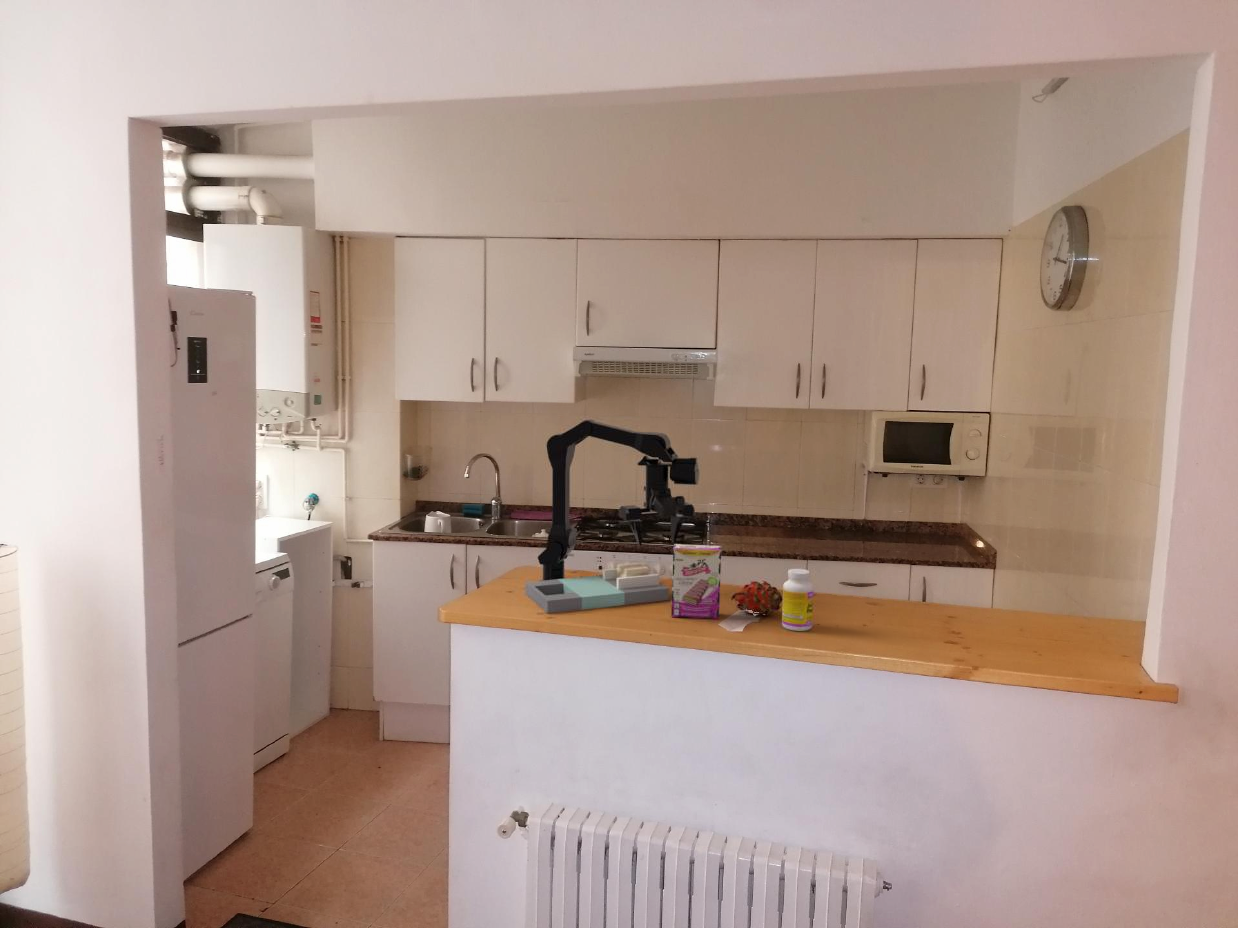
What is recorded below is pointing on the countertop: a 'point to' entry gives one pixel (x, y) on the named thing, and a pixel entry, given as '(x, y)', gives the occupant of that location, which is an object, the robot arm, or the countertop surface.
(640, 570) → the beech block
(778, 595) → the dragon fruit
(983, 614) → the countertop surface
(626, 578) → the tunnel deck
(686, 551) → the candy bar box
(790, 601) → the supplement bottle
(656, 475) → the robot arm
